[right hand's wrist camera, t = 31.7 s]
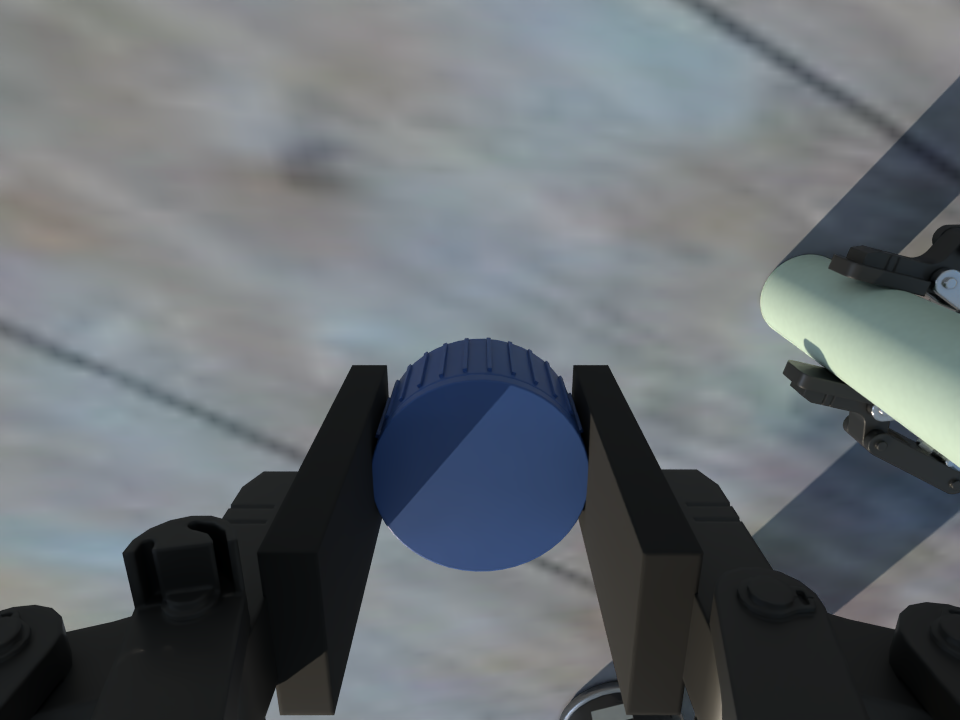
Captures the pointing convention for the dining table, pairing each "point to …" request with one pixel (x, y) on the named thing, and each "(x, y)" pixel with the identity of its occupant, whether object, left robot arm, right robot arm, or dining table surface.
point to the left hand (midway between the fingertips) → (816, 320)
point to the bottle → (874, 344)
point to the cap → (480, 457)
